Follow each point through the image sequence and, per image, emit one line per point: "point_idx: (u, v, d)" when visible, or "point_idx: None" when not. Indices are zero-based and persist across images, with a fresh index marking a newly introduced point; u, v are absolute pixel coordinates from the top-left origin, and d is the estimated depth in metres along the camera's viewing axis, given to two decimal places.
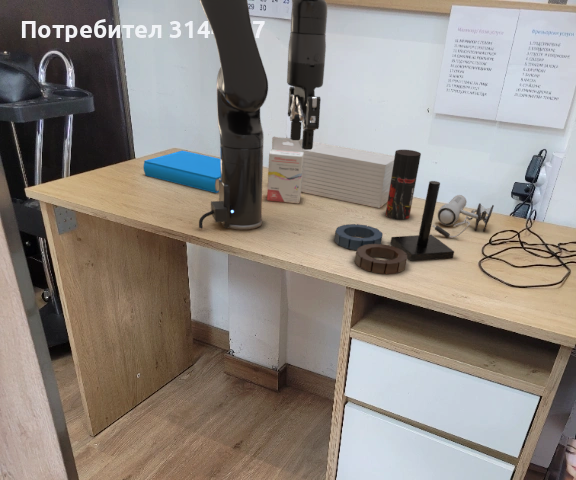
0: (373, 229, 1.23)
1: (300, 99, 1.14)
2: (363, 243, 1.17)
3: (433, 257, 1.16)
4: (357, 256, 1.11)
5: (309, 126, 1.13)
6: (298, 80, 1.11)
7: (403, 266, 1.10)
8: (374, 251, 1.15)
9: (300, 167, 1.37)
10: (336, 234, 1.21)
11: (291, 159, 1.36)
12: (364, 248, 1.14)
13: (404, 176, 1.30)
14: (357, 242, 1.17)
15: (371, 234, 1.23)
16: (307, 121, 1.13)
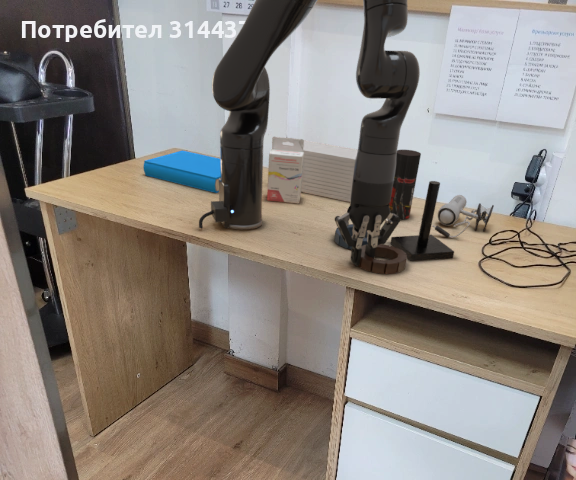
0: None
1: None
2: (363, 243, 1.17)
3: (433, 257, 1.16)
4: None
5: (344, 239, 1.09)
6: None
7: (403, 266, 1.10)
8: None
9: (300, 167, 1.37)
10: (336, 234, 1.21)
11: (291, 159, 1.36)
12: (364, 248, 1.14)
13: (404, 176, 1.30)
14: None
15: None
16: None
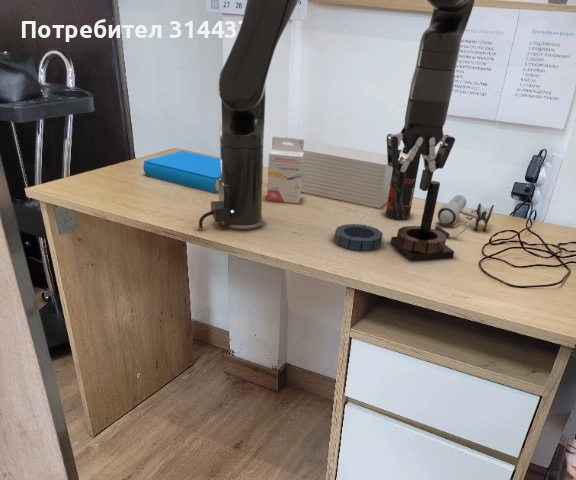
0: (373, 229, 1.23)
1: None
2: (363, 243, 1.17)
3: (433, 257, 1.16)
4: (399, 237, 1.17)
5: (388, 162, 1.08)
6: None
7: (443, 246, 1.17)
8: (414, 232, 1.21)
9: (300, 167, 1.37)
10: (336, 234, 1.21)
11: (291, 159, 1.36)
12: (405, 229, 1.20)
13: None
14: (357, 242, 1.17)
15: (371, 234, 1.23)
16: None
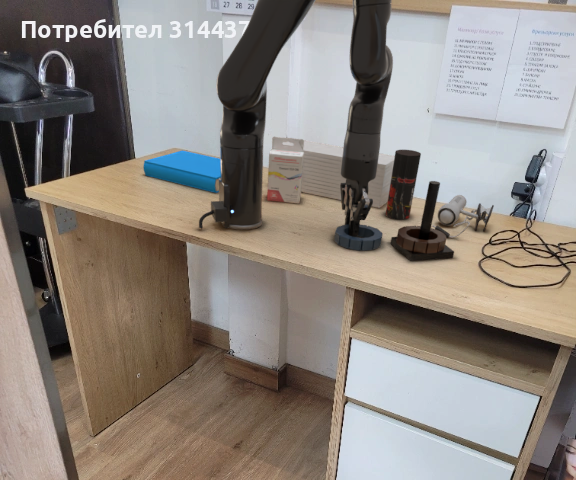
0: (373, 229, 1.23)
1: (354, 190, 1.18)
2: (363, 243, 1.18)
3: (433, 257, 1.16)
4: (399, 237, 1.17)
5: (357, 218, 1.19)
6: (353, 174, 1.15)
7: (443, 246, 1.17)
8: (414, 232, 1.21)
9: (300, 167, 1.37)
10: (336, 234, 1.21)
11: (291, 159, 1.36)
12: (405, 229, 1.20)
13: (404, 176, 1.30)
14: (358, 242, 1.17)
15: (371, 234, 1.23)
16: (356, 215, 1.19)
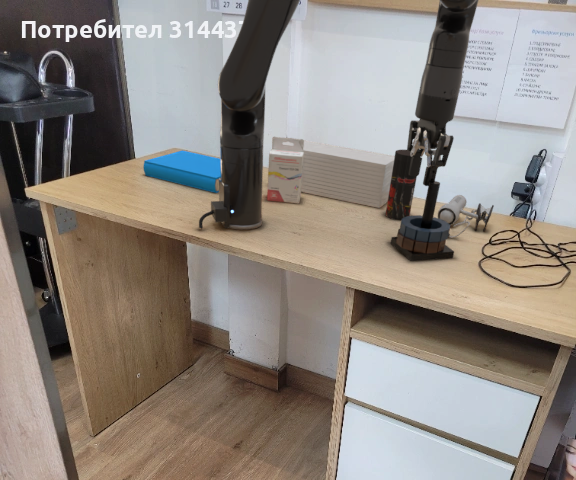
0: (440, 221, 1.19)
1: (429, 133, 1.09)
2: (431, 234, 1.13)
3: (433, 257, 1.16)
4: (399, 237, 1.17)
5: (436, 164, 1.09)
6: (431, 114, 1.06)
7: (443, 246, 1.17)
8: None
9: (300, 167, 1.37)
10: (402, 225, 1.17)
11: (291, 159, 1.36)
12: None
13: (404, 176, 1.30)
14: (425, 233, 1.13)
15: (438, 226, 1.19)
16: (435, 159, 1.09)
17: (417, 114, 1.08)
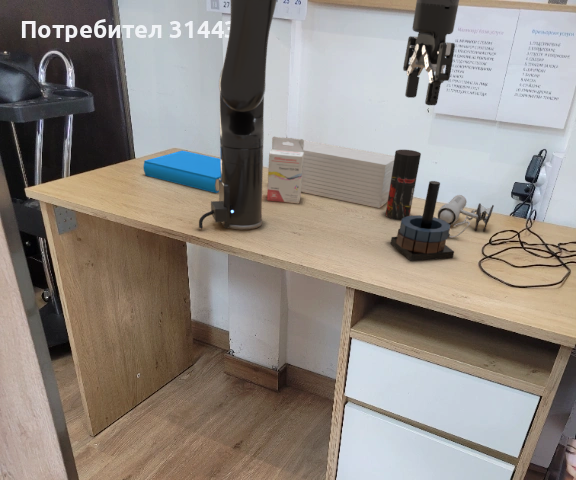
0: (440, 221, 1.19)
1: (428, 47, 1.02)
2: (431, 234, 1.13)
3: (433, 257, 1.16)
4: (399, 237, 1.17)
5: (439, 77, 1.01)
6: (429, 24, 0.99)
7: (443, 246, 1.17)
8: None
9: (300, 167, 1.37)
10: (402, 225, 1.17)
11: (291, 159, 1.36)
12: None
13: (404, 176, 1.30)
14: (425, 233, 1.13)
15: (438, 226, 1.19)
16: (437, 71, 1.01)
17: (415, 27, 1.02)
